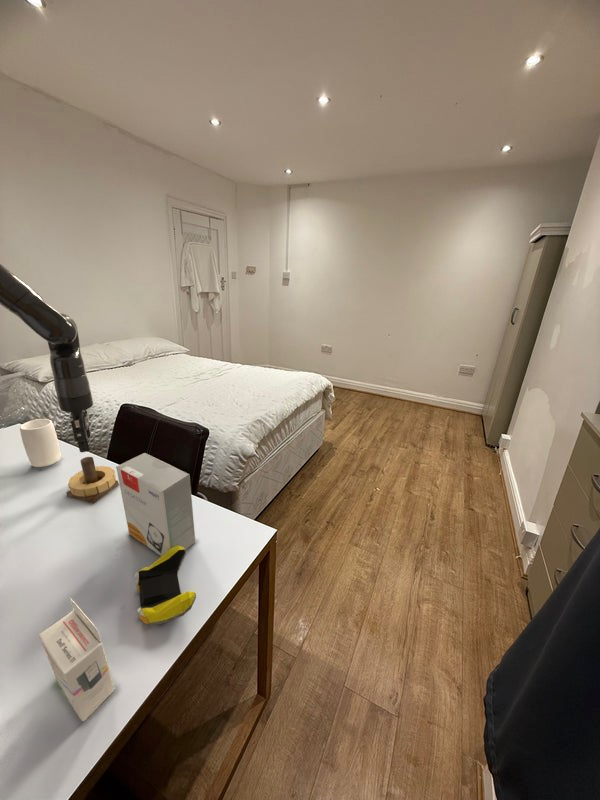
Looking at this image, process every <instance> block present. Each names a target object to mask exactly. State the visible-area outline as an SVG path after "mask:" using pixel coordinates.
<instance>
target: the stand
mask: <svg viewBox="0 0 600 800" xmlns="http://www.w3.org/2000/svg"><path fill="white" fill-rule="evenodd" d="M80 466H81V471H82V470H83V474H84V479H85V482H83V483H82V484H91V483H95V482H97V481H100V480H101V479H102V478H103V477H97V474H96V469H95V467H96V465H95V461H94V457H93V456H86V457H83V458H81V459H80ZM118 486H120V483H119V480H118V479H117V480H116V481H115V483H114V484H113V485H112V486H111V487H110V488H108V489H107V490H105V491H103V492H101V493H98V494H96V495H91V496H85V497H83V496H76V495H73V494H72V493H71V492H70V489H68V491H66V493H65V494H66V497H67V498H70V499H74V500H77V501H81V502H85V503H89V504H95V503H97V502H98V501H99V500H101V499H102V498H103V497H104V496H106V495H107V494H109V493H110V492H112V491H113V490H114V489H115V488H116V487H118Z"/></svg>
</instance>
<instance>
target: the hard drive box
mask: <svg viewBox="0 0 600 800" xmlns="http://www.w3.org/2000/svg"><path fill="white" fill-rule="evenodd" d="M115 468H116V473H117V479H118V484H119V488H120V493H121V494H120V495H121V498H122V499H121V500H122V504H123V508H124V509H123V510H124V515H125V519H126V520H125V521H126V525H127V529H128V535H130V536H131V537H133V538H134V539H135V540H137V541H138V542H140V543H142V544H143V545H144V546H145V547H147V548H149V549H150V550H152V551H153V552H155V553H156V554H157V555H159V556H160V557H161V556H163V555H164V554H165V553H166V552H167V551H168V550H170V549H171V548H173V547H175V546H178V545H179V546H182V547H183V548H184V549H185V551H187V550H188V549H189V548H190V547H192V546H193V545H194V544H195V543H196V533H195V522H194V521H195V520H194V509H193V499H192V497H193V496H192V487H191V476H190V473H187V472H186V471H183V470H181V469H179V468H177V467H175V466H173V465H171V464H169V463H167V462H165V461H163V460H160V459H159V458H156V457H154V456H153V455H150V454H148V453H146V452H144V453H143V452H142V453H141V454H139V455H137V456H135V457H133V458H130V459H129V460H126V461H125V462H122V463H121V464H119V465H117V466H115Z"/></svg>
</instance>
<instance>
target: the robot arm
mask: <svg viewBox="0 0 600 800" xmlns="http://www.w3.org/2000/svg"><path fill="white" fill-rule="evenodd" d="M0 305H1V306H2V307H3V308H5V309H6V310H7V311H9V312H10V313H11V314H13V315H15V316H16V317H18V319H20V320H21V321H22V322H23V323H24V324H25V325H27V326H28V327H29V328H30V329H31V330H32V331H33V332H34V333H35V334H37V335H38V336H39V337H41V338H42V339H44V340H45V341H46V342H47V345H48V349H49V352H50V355H49V363H50V368H51V371H52V376H53V385H54V390H55V393H56V398H57V402H58V405H59V409H60V411H62V412H65V413H70V416H69V422H70V425H71V429H72V434H73V437H74V442H75V443H77V445H78V449H79V452H80V453H87V452H89V451H90V445H89V440H88V439H89V438H91V431H90V426H89V425H90V416H89V411H88V409H90V408H91V407H93V405H94V401H93V395H92V391H91V386H90V381H89V378H88V376H87V372H86V367H85V362H84V359H83V356H82V352H81V344H80V338H79V330H78V326H77V325H78V324H77V323H76V322H75V320H74V319H73V317H71V316H69V315H68V314H66V313H63V312H58V311H57V310H56V309H55V308H53V307H52V306H50V305H49V304H48V302H45V300H44V299H43V298H42V296H41V295H40V294H39V293H38V292H37V291H35V289H33V288H32V287H31V286H30V285H28V284H27V283H26V282H24V281H23V280H22V279H20V278H19V277H18V276H17V275H15V274H14V273H13V272H11V271H10V270H9V269H8V268H7V267H5V266H4V265H3V264H1V263H0ZM79 434H80V435H79Z"/></svg>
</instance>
